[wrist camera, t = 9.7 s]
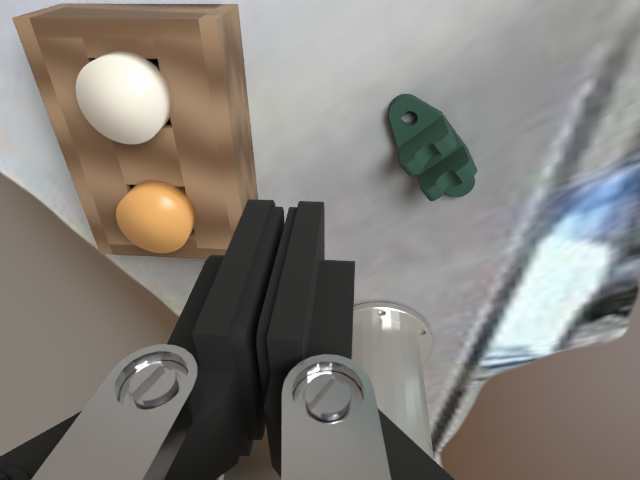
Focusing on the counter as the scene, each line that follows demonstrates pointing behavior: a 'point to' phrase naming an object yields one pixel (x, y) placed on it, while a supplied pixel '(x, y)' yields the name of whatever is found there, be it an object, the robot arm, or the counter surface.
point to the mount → (431, 149)
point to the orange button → (156, 216)
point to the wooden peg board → (175, 136)
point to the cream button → (124, 96)
